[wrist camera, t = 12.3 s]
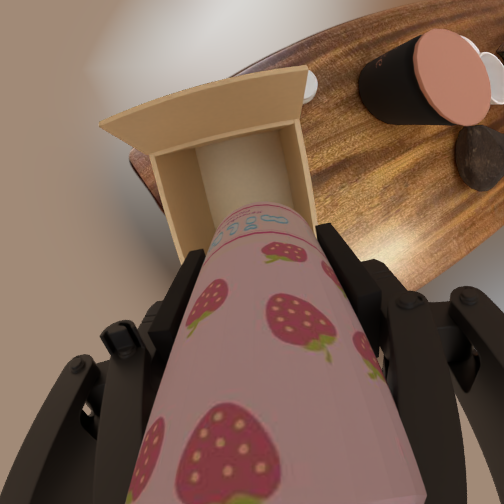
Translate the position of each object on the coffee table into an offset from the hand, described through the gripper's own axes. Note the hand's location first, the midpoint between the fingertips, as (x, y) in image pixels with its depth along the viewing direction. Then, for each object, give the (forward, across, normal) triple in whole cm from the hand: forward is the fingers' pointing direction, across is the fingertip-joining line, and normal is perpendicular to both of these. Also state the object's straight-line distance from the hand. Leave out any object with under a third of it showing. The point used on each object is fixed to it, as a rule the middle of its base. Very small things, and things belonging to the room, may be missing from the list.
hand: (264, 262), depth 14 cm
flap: (+7, -2, +8) cm, 11 cm away
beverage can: (+2, 0, 0) cm, 2 cm away
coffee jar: (+29, +22, +10) cm, 38 cm away
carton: (+28, -2, 0) cm, 28 cm away
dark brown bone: (+29, +47, 0) cm, 55 cm away
